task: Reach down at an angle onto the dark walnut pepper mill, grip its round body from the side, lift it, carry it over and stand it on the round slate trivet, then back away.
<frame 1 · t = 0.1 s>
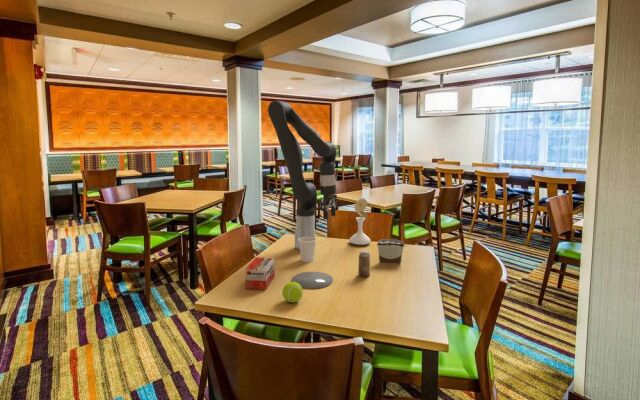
hand: (329, 217, 188), 17 cm above the table, tool pointing down, fingers open, 8 cm apart
flower in vase: (360, 244, 204), on the table
food container: (389, 262, 177), on the table
tennis ball: (292, 302, 135), on the table
pepper mill: (363, 275, 159), on the table
medicine box: (260, 283, 151), on the table
trivet: (312, 280, 153), on the table
dixie cup: (307, 260, 178), on the table
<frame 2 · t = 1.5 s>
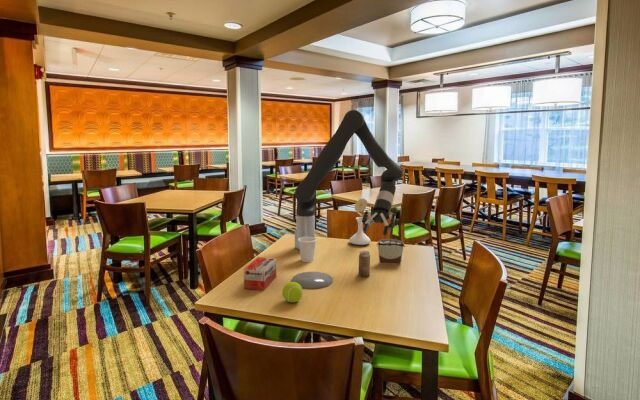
hand: (374, 233, 167), 15 cm above the table, tool tilted 45°, fingers open, 8 cm apart
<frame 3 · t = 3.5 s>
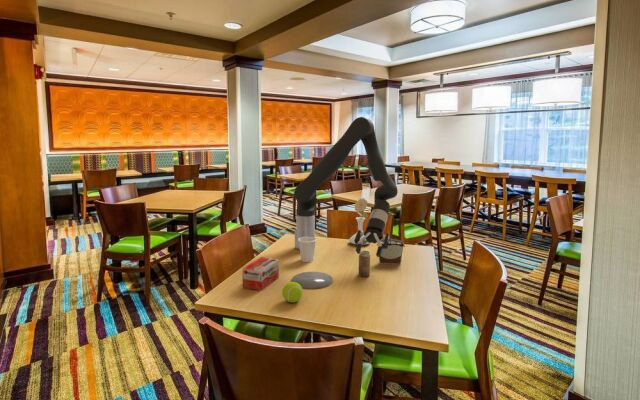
hand: (367, 254, 161), 8 cm above the table, tool tilted 45°, fingers open, 8 cm apart
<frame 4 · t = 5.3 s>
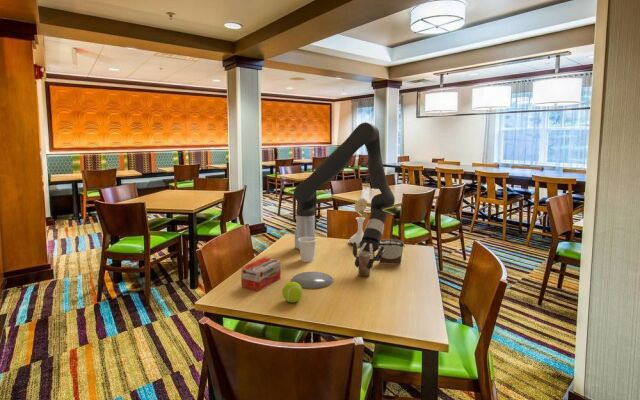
hand: (362, 267, 157), 4 cm above the table, tool tilted 45°, fingers closed on pepper mill, 4 cm apart
pepper mill: (364, 275, 159), on the table, touching gripper
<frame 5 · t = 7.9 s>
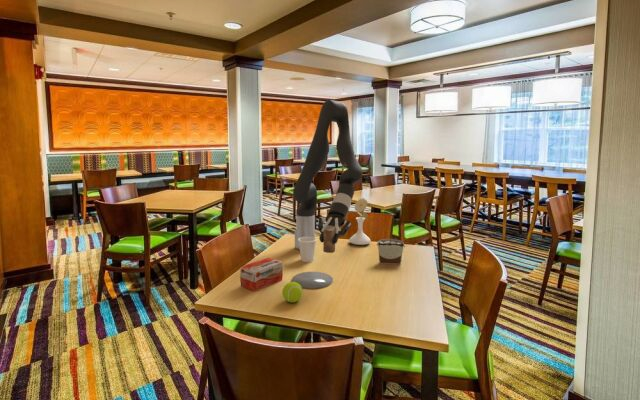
hand: (327, 242, 151), 16 cm above the table, tool tilted 45°, fingers closed on pepper mill, 4 cm apart
pepper mill: (329, 251, 153), point 12 cm above the table, touching gripper
when the fingers open (6 cm above the table, at t = 10.8 s): pepper mill stays where it is, resting on trivet.
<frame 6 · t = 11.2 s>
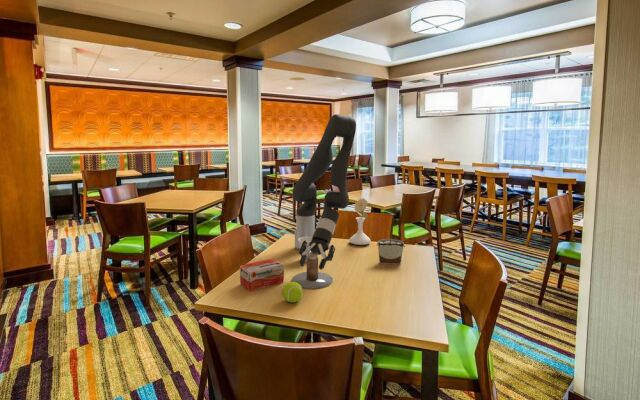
hand: (310, 267, 151), 6 cm above the table, tool tilted 45°, fingers open, 8 cm apart
pepper mill: (312, 278, 153), point 1 cm above the table, touching trivet
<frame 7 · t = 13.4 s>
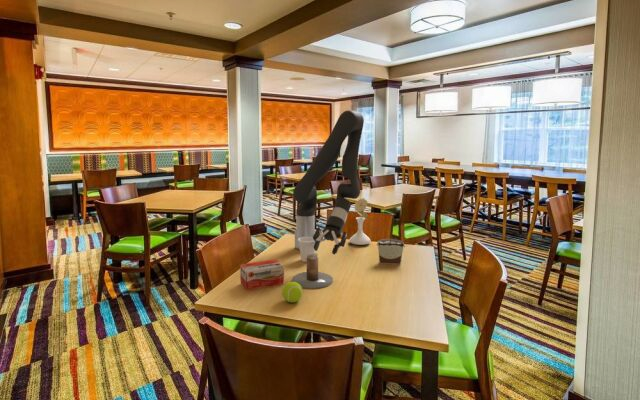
hand: (324, 251, 163), 8 cm above the table, tool tilted 45°, fingers open, 8 cm apart
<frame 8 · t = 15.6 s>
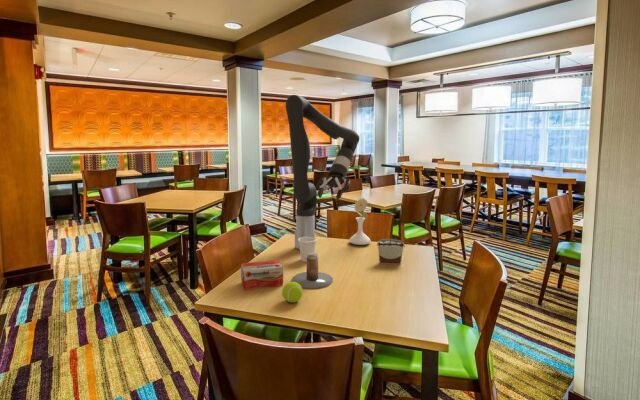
hand: (328, 197, 164), 31 cm above the table, tool tilted 45°, fingers open, 8 cm apart
at the end: pepper mill 0.0 cm from the trivet (horizontally); pepper mill tilted 0°; the gripper is holding nothing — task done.
